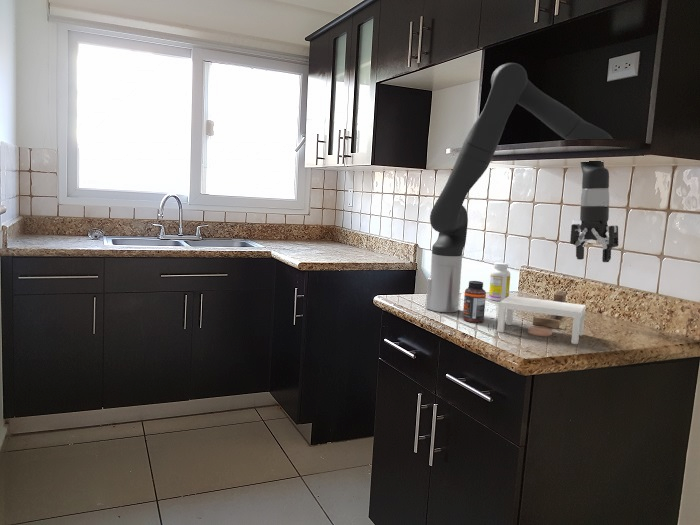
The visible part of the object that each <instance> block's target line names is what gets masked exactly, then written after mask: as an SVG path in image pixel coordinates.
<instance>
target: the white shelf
mask: <svg viewBox="0 0 700 525" xmlns="http://www.w3.org/2000/svg"><path fill="white" fill-rule="evenodd" d="M514 311H519V312H520V311H521V312H529V313H536V314H545V315H548V314H549V315H557V316H559V317H564V318H565V317H566V318H573V319H572V320H573V321H572V330H571V342H570V343H571V344H572V345H573V344H574V345H578V344H579V338H580V336H581V337H582V336H583V335H584V324H585V316H586V304H579V303H572V302H565V303H564V302H556V301H553V300H547V299H540V298H538V299H537V298H533V297H532V298H531V297H522V296H517V295H509V296H508V297H507V298H505V299H503V300H502V301H498V313H497V317H498V318H497V326H496V328H497V329H496V332H497V333H504V332H505V325H509V326H512V325H513V323H514V322H513V321H514Z"/></svg>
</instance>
